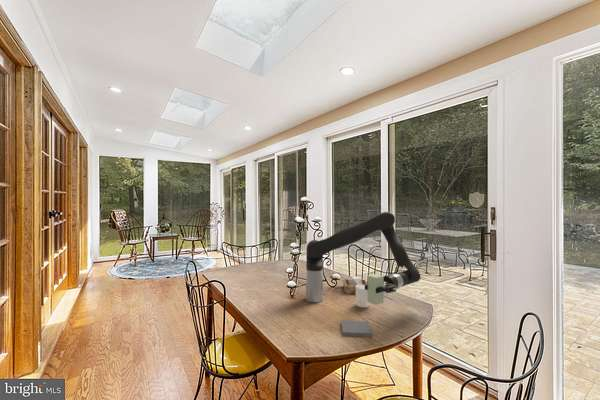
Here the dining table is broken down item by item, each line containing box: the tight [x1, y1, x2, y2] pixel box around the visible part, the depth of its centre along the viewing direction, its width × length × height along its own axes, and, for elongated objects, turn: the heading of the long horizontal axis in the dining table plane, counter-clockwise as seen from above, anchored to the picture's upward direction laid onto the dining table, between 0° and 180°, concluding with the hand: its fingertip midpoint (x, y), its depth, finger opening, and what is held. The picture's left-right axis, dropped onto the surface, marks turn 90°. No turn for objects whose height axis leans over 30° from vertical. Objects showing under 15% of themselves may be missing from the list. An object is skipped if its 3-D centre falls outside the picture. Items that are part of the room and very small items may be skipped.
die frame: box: [342, 278, 367, 295], centre depth 189 cm, size 14×15×4 cm
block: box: [367, 273, 385, 306], centre depth 139 cm, size 5×5×12 cm
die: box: [348, 275, 363, 286], centre depth 189 cm, size 8×9×10 cm
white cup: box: [355, 285, 370, 308], centre depth 163 cm, size 8×8×10 cm
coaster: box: [340, 319, 373, 338], centre depth 133 cm, size 12×12×2 cm
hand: (370, 289), depth 137 cm, fingers closed on block, 5 cm apart
